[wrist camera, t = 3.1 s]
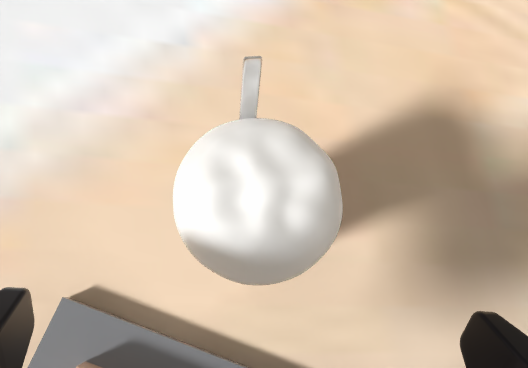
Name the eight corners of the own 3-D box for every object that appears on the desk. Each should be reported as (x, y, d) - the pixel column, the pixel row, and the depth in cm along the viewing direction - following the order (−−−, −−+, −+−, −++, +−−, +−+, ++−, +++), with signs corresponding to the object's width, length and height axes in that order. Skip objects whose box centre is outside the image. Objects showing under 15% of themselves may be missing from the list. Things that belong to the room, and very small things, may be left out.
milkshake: (271, 165, 21) (342, 51, 11) (289, 283, 20) (386, 266, 10) (171, 175, 20) (157, 60, 11) (184, 299, 19) (181, 296, 9)
